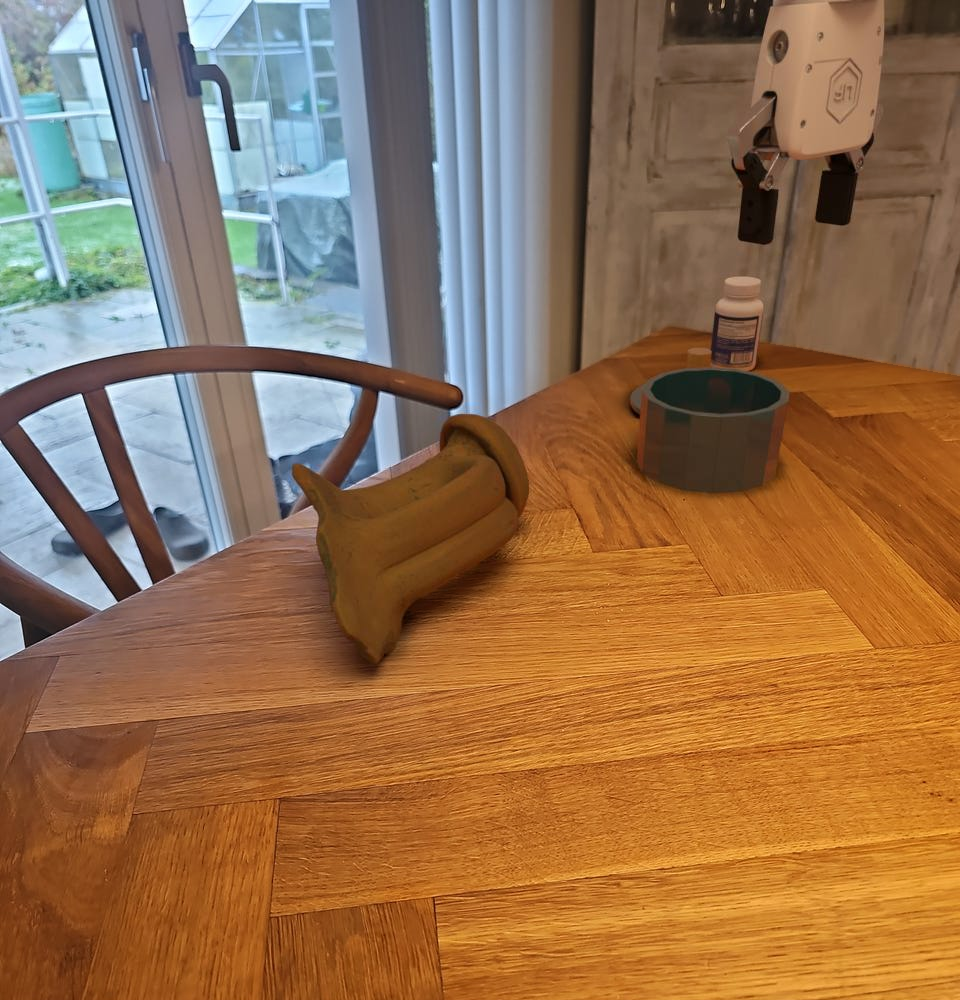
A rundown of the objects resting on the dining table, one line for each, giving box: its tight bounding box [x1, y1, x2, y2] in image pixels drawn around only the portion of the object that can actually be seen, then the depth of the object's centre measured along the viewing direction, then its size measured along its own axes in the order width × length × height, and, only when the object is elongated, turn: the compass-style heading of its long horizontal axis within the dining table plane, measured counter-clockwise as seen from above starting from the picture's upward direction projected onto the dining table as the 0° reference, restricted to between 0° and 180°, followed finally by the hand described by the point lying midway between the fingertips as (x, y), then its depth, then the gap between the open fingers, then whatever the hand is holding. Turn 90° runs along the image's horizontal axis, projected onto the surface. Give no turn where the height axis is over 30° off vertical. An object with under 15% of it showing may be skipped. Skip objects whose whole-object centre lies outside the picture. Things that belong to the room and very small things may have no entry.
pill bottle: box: [710, 276, 765, 372], centre depth 102 cm, size 5×5×10 cm
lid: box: [629, 347, 712, 415], centre depth 92 cm, size 13×13×6 cm
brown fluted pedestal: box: [291, 413, 530, 664], centre depth 63 cm, size 18×13×22 cm
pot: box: [636, 366, 790, 494], centre depth 79 cm, size 12×12×8 cm
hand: (794, 232), depth 74 cm, fingers open, 9 cm apart
